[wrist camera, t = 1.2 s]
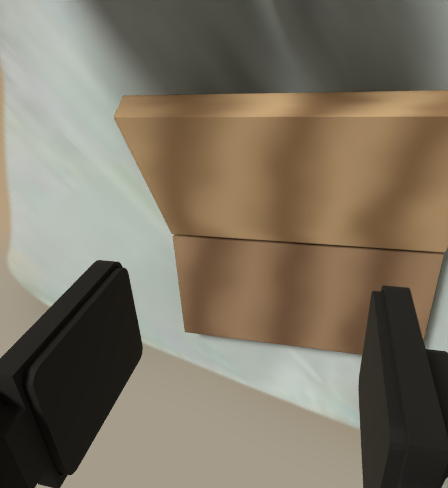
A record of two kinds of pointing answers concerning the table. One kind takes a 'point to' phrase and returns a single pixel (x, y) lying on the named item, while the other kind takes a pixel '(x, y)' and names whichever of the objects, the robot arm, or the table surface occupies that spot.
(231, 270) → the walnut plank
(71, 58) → the table surface
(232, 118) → the oak plank
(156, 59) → the table surface
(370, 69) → the table surface
